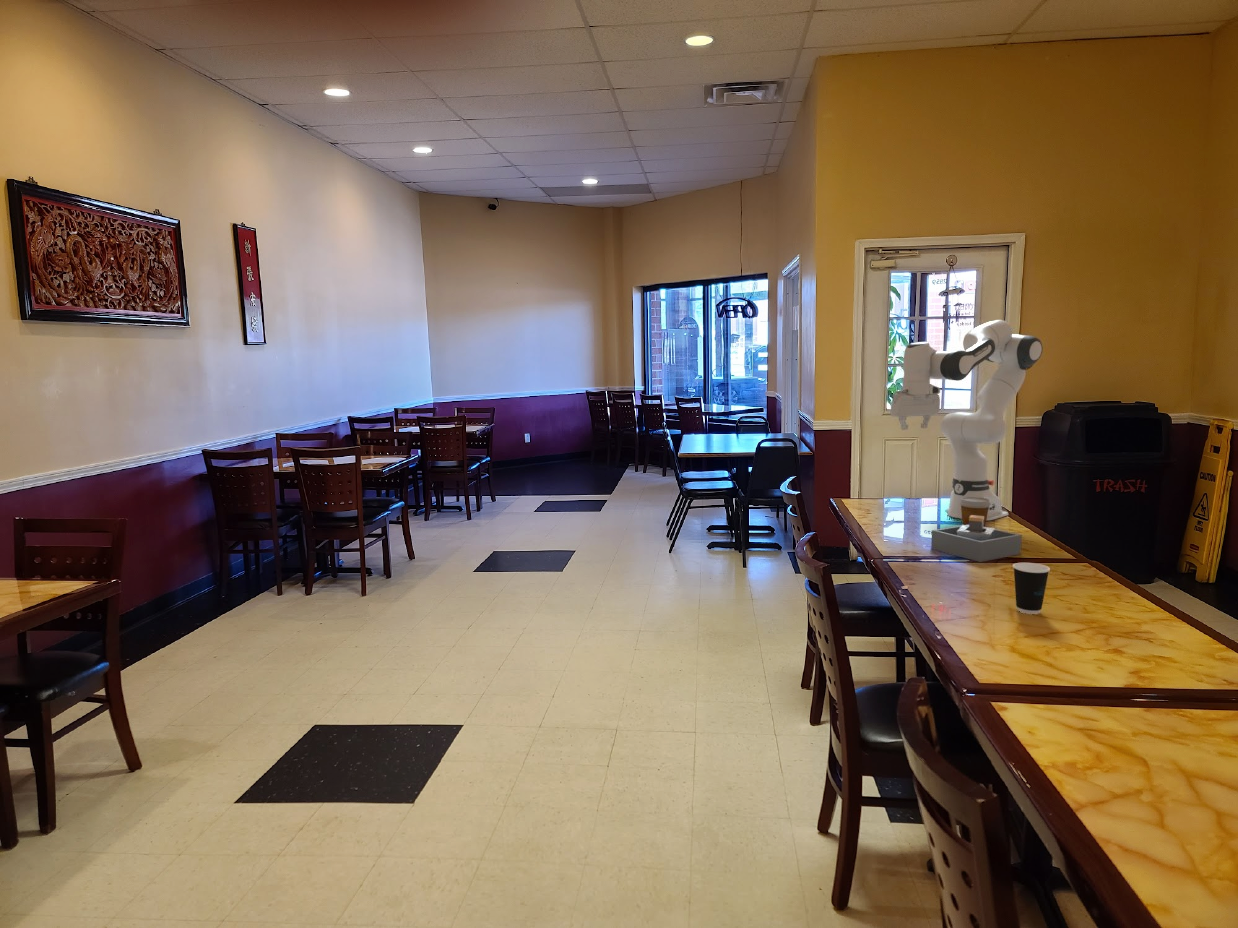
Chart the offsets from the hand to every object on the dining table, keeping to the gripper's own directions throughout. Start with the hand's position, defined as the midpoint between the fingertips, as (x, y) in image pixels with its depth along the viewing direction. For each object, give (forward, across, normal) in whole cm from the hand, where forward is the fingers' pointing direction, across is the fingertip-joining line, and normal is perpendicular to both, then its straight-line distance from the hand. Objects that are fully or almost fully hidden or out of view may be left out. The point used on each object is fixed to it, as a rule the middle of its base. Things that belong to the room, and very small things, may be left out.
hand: (914, 429), depth 269 cm
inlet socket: (+35, -9, -34) cm, 50 cm away
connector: (+32, -9, -34) cm, 48 cm away
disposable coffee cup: (+35, +10, -18) cm, 41 cm away
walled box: (+35, -9, -34) cm, 50 cm away
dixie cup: (+36, -45, -78) cm, 97 cm away
